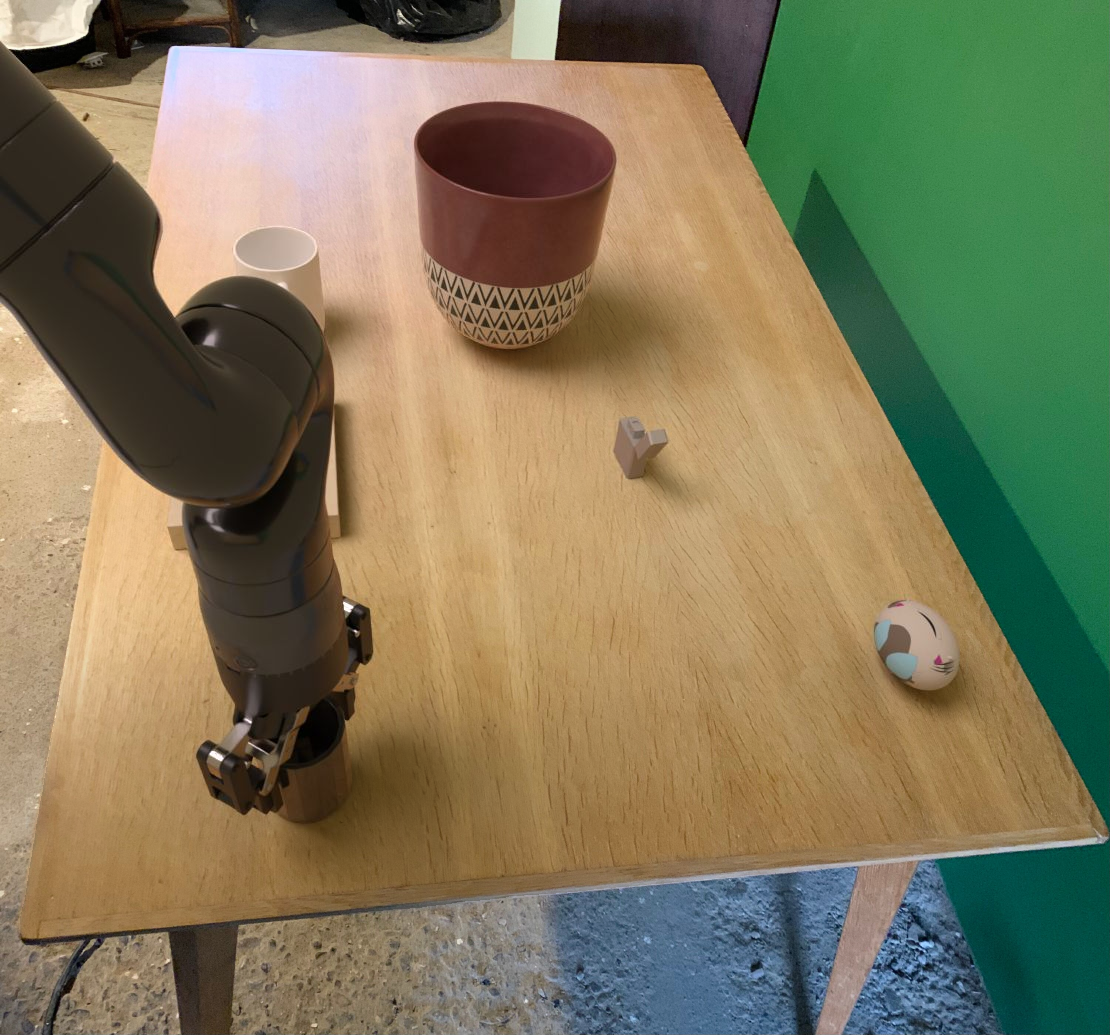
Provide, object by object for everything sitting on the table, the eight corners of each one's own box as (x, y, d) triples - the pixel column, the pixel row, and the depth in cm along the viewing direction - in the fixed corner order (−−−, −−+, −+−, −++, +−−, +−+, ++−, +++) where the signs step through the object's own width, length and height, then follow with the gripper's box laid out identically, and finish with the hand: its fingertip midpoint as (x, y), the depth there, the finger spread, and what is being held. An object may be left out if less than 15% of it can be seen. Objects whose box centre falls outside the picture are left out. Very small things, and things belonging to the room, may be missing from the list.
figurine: (845, 639, 82) (872, 591, 77) (903, 624, 84) (932, 577, 79) (895, 717, 77) (927, 672, 72) (955, 701, 79) (990, 655, 74)
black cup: (318, 838, 66) (307, 785, 60) (248, 798, 67) (231, 742, 61) (368, 770, 69) (362, 713, 64) (301, 732, 71) (290, 674, 65)
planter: (400, 287, 110) (395, 105, 94) (558, 272, 115) (579, 96, 100) (438, 395, 98) (440, 206, 82) (613, 372, 103) (646, 191, 88)
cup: (320, 303, 106) (312, 222, 99) (336, 371, 99) (328, 288, 91) (243, 310, 104) (229, 228, 97) (254, 380, 97) (239, 296, 89)
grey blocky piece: (612, 450, 95) (624, 388, 89) (628, 447, 95) (641, 386, 90) (638, 500, 91) (652, 439, 85) (654, 497, 91) (670, 437, 85)
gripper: (301, 509, 59) (323, 658, 71) (130, 679, 50) (189, 816, 62) (403, 559, 57) (408, 702, 69) (245, 744, 48) (283, 872, 60)
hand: (304, 756), depth 65 cm, fingers open, 7 cm apart
